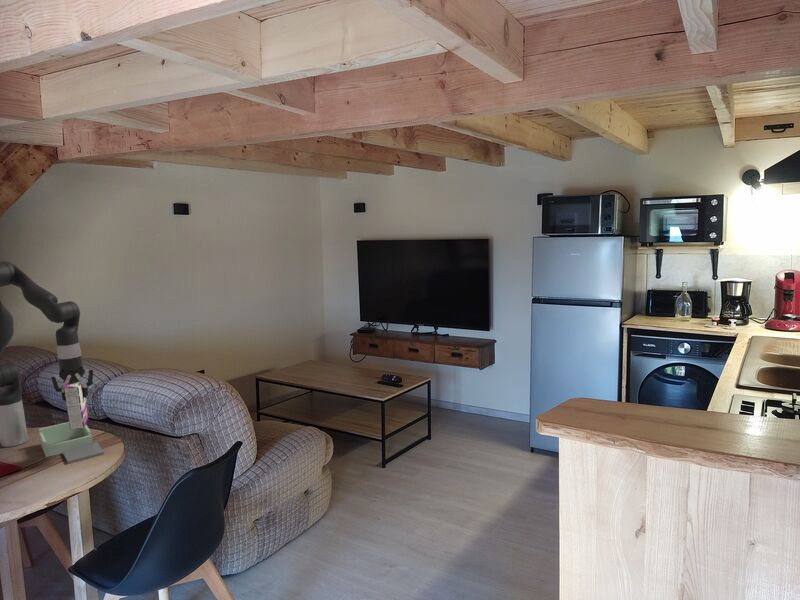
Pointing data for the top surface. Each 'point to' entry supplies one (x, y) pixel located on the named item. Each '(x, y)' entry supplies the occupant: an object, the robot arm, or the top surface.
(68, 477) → the top surface
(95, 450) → the slate tile
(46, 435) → the frame
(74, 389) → the candy bar box
